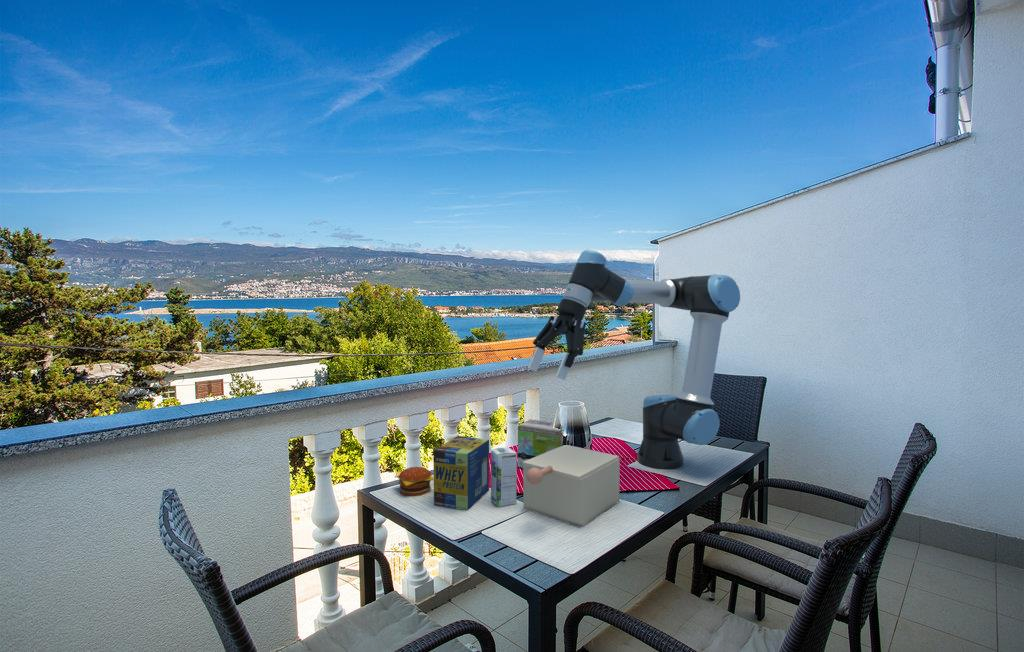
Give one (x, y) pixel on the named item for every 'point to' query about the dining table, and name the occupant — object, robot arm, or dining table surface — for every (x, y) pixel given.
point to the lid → (567, 463)
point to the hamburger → (415, 481)
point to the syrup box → (503, 476)
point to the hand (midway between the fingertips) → (545, 374)
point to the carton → (573, 495)
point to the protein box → (461, 472)
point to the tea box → (536, 439)
